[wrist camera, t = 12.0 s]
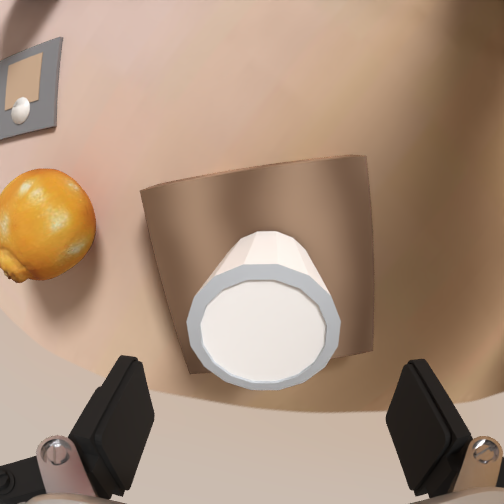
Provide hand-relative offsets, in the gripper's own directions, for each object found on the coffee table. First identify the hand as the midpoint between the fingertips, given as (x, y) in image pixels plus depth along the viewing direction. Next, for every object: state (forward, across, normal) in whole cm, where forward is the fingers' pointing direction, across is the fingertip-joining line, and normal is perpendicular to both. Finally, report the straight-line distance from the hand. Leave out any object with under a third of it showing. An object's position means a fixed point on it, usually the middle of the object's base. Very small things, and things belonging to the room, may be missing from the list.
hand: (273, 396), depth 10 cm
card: (+14, +21, -15) cm, 29 cm away
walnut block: (+15, 0, 0) cm, 15 cm away
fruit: (+14, +16, -4) cm, 22 cm away
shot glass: (+11, 0, 0) cm, 11 cm away
